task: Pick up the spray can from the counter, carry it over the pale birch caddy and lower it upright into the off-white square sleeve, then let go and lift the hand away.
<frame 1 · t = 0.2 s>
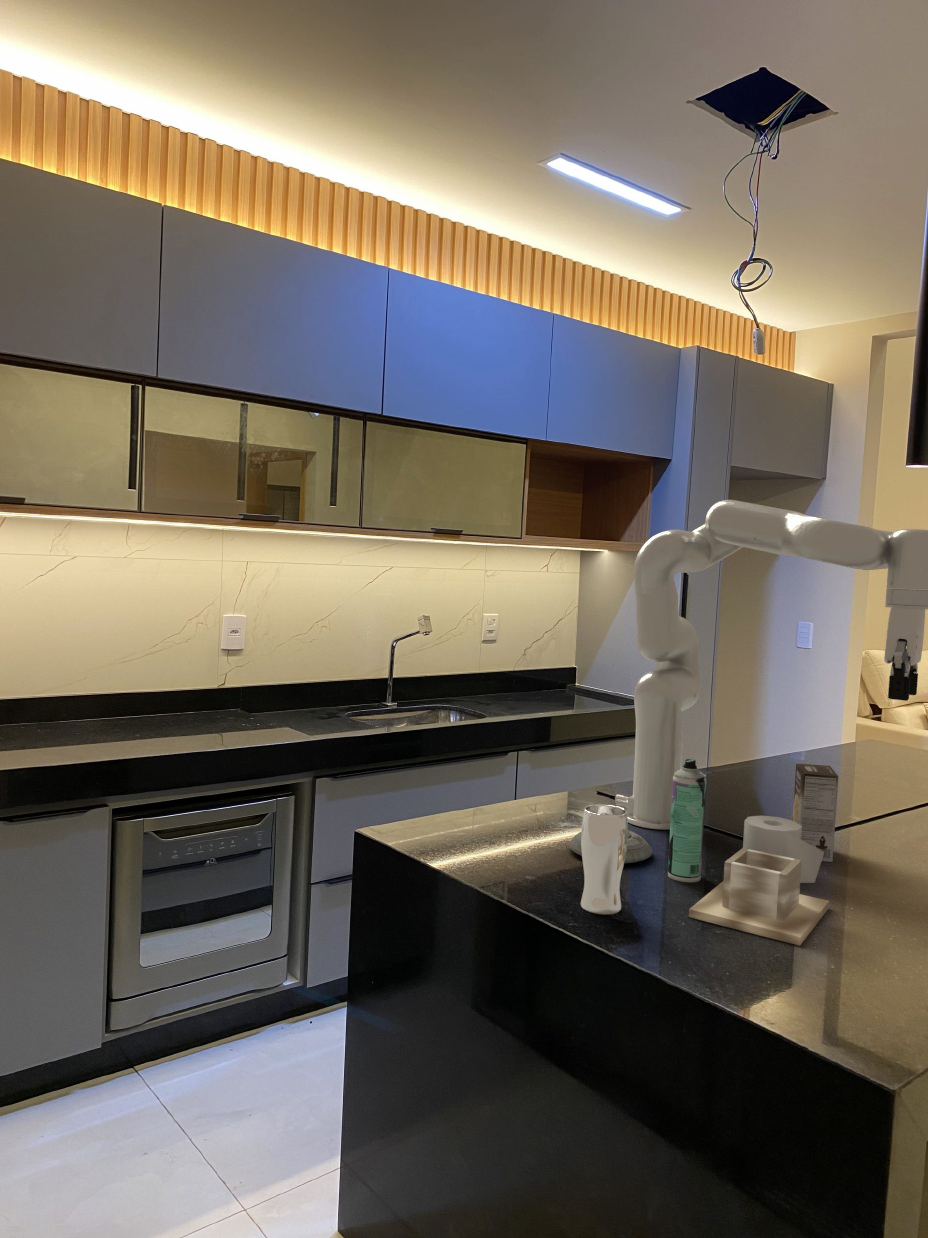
hand: (902, 697, 158), 31 cm above the countertop, tool pointing down, fingers open, 9 cm apart
coffee box: (811, 854, 168), on the countertop
beer glass: (600, 908, 136), on the countertop
toilet tissue: (777, 874, 156), on the countertop
spray can: (684, 878, 152), on the countertop
can caddy: (760, 912, 137), on the countertop
flying saucer: (610, 856, 163), on the countertop
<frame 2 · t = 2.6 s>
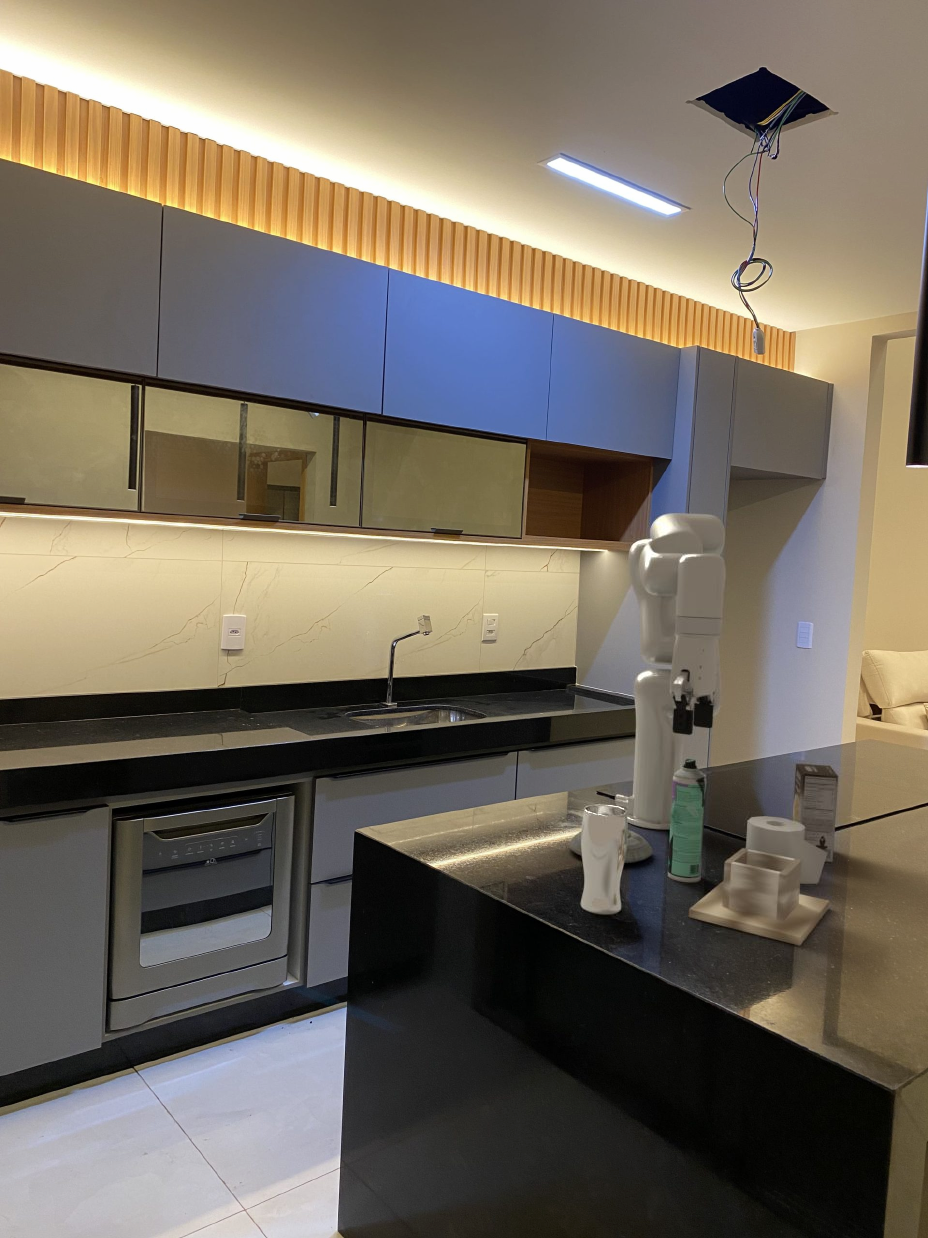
hand: (692, 730, 150), 25 cm above the countertop, tool pointing down, fingers open, 9 cm apart
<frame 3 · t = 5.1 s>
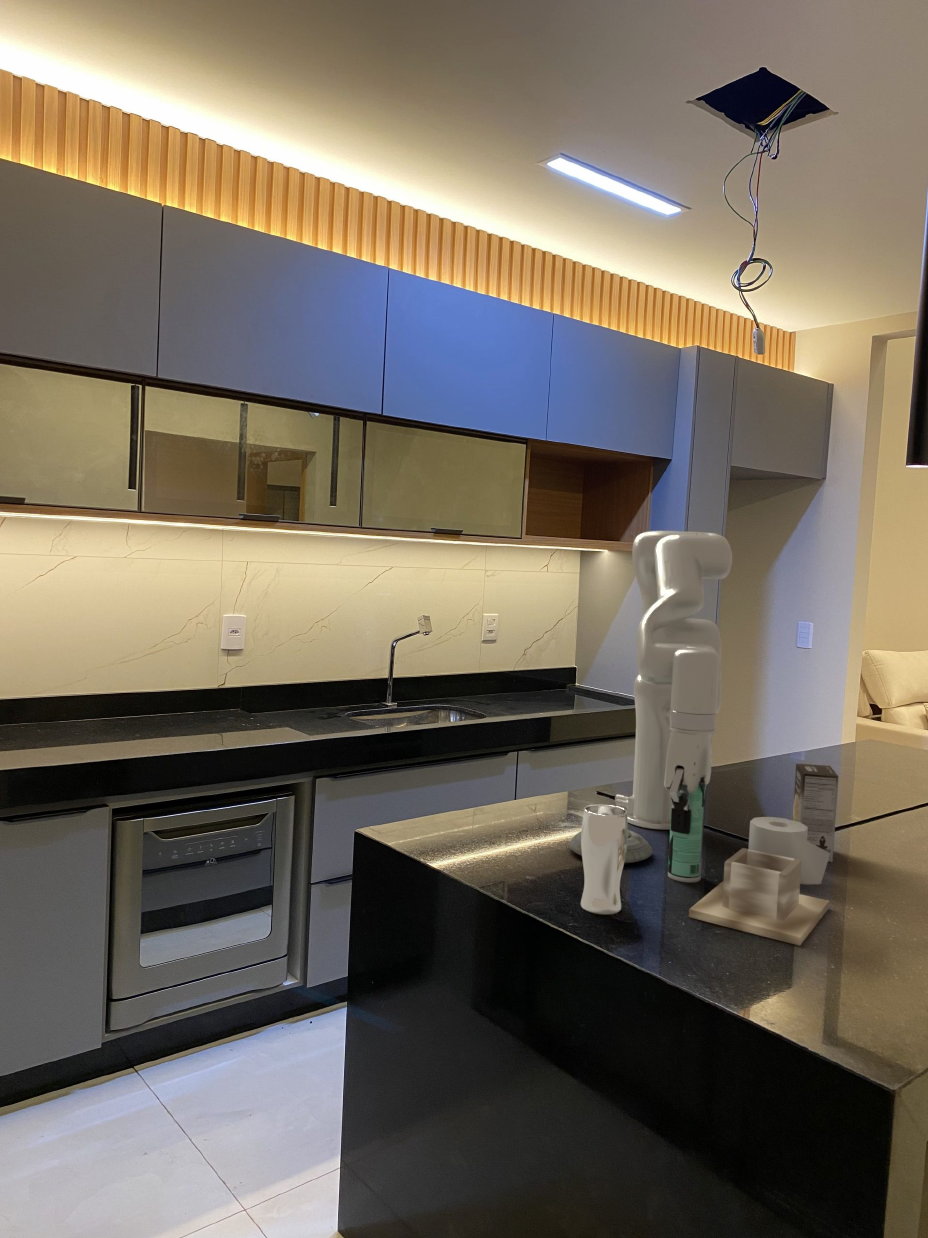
hand: (686, 827, 151), 8 cm above the countertop, tool pointing down, fingers closed on spray can, 5 cm apart
spray can: (684, 878, 152), on the countertop, touching gripper
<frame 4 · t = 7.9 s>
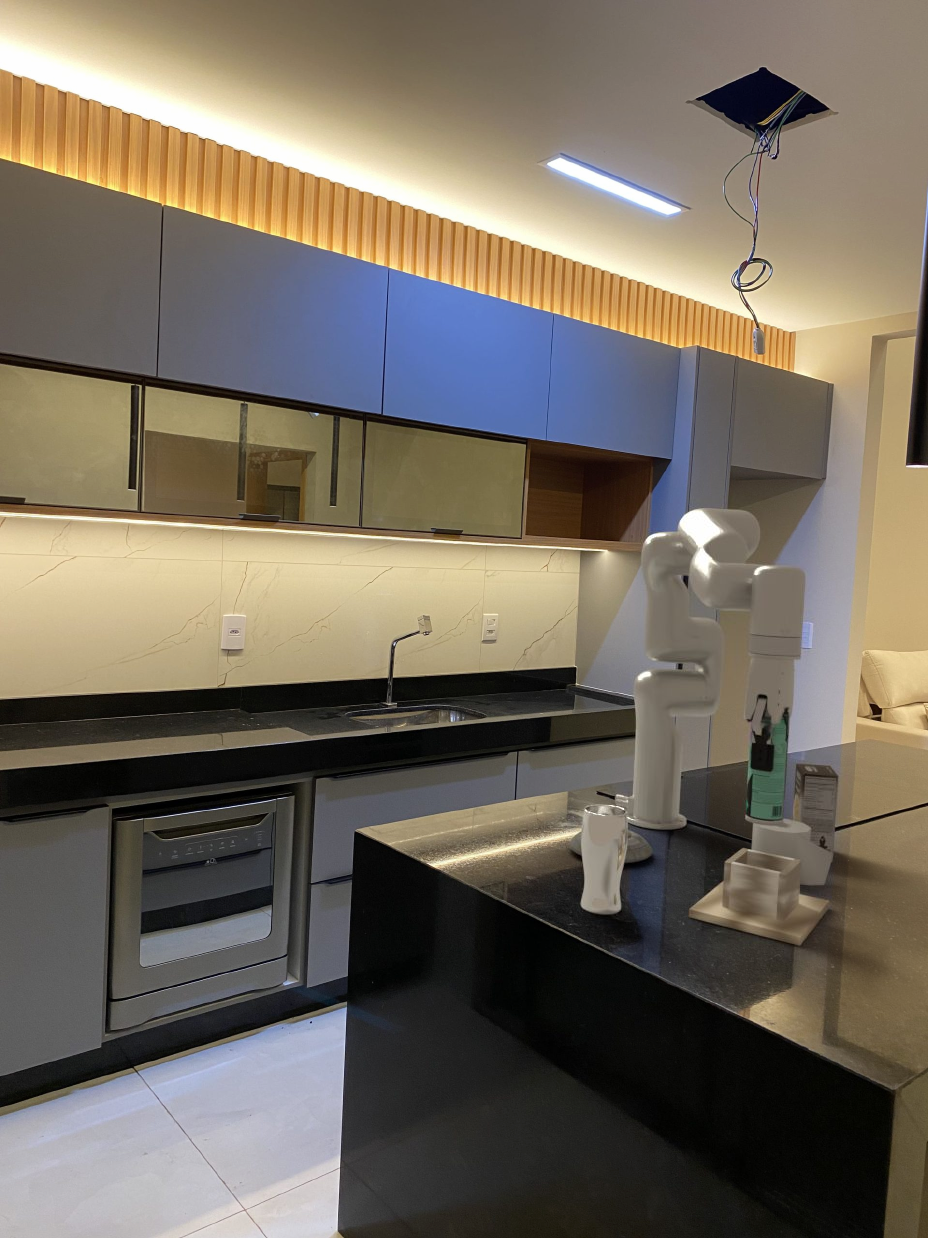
hand: (767, 765, 136), 23 cm above the countertop, tool pointing down, fingers closed on spray can, 5 cm apart
spray can: (764, 822, 136), point 14 cm above the countertop, touching gripper
when the fingers open (11 cm above the countertop, at t = 10.8 s): spray can drops 2 cm, resting on can caddy.
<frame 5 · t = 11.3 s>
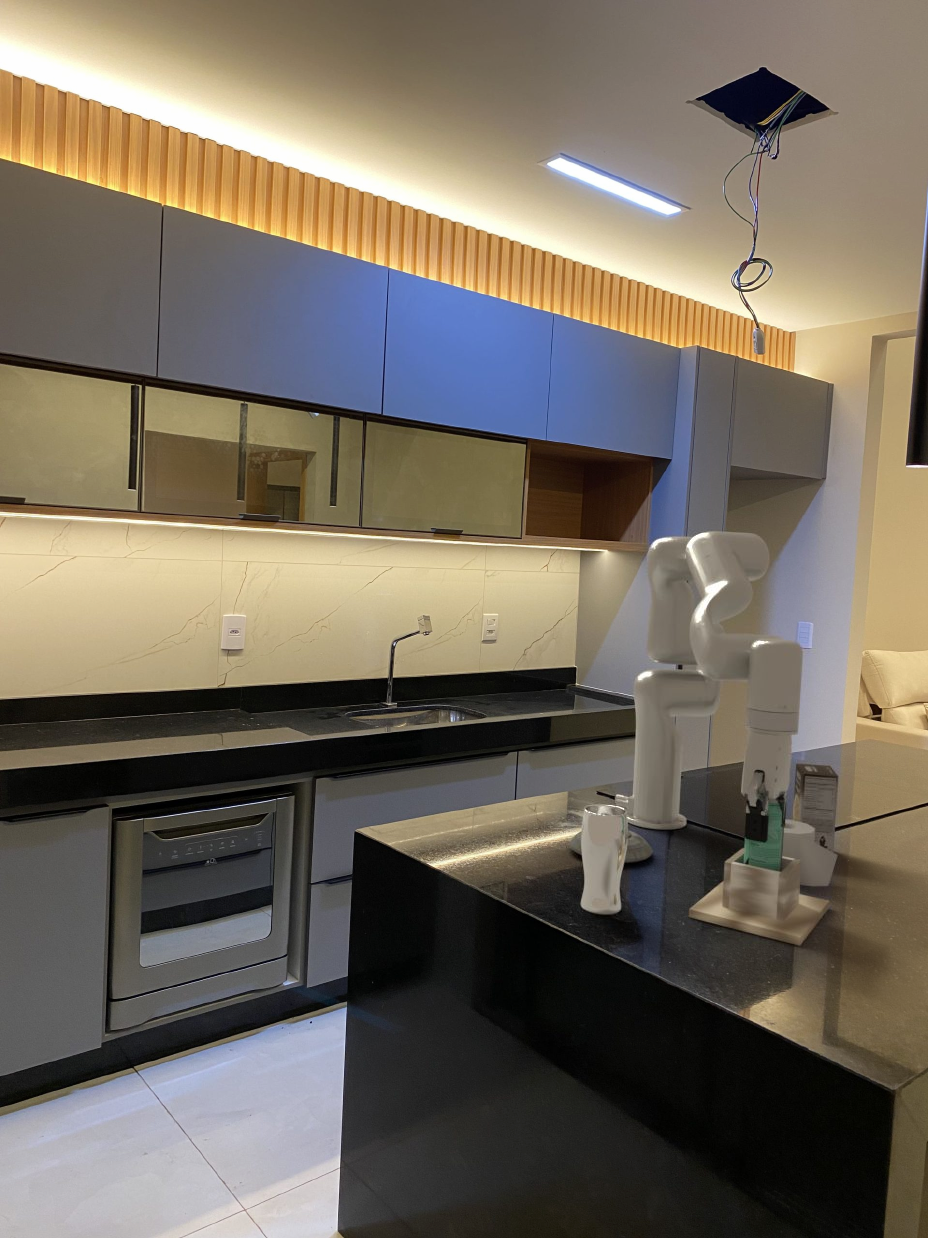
hand: (765, 833, 136), 12 cm above the countertop, tool pointing down, fingers open, 9 cm apart
spray can: (759, 905, 137), point 1 cm above the countertop, touching can caddy
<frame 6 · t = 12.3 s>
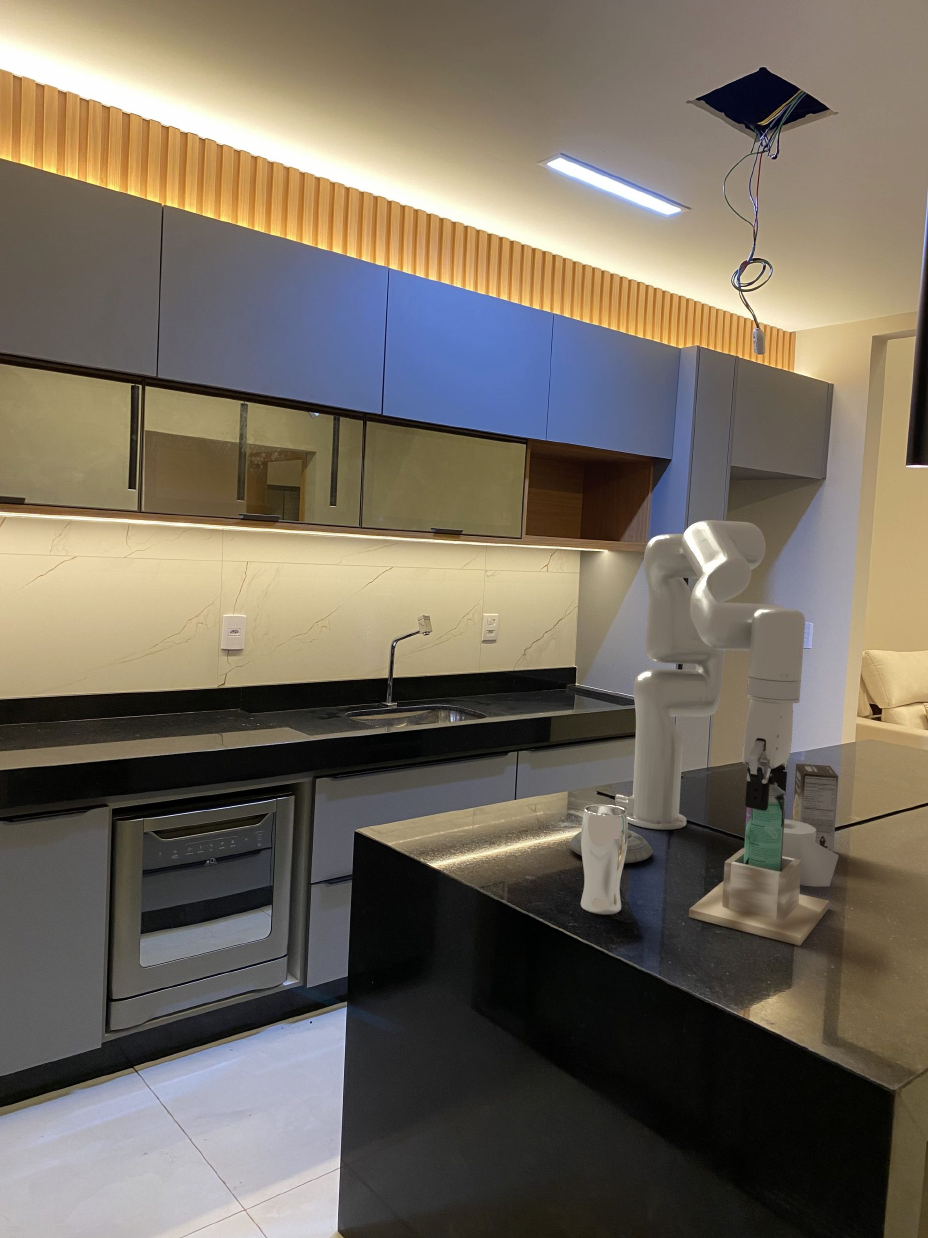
hand: (765, 801, 136), 17 cm above the countertop, tool pointing down, fingers open, 9 cm apart
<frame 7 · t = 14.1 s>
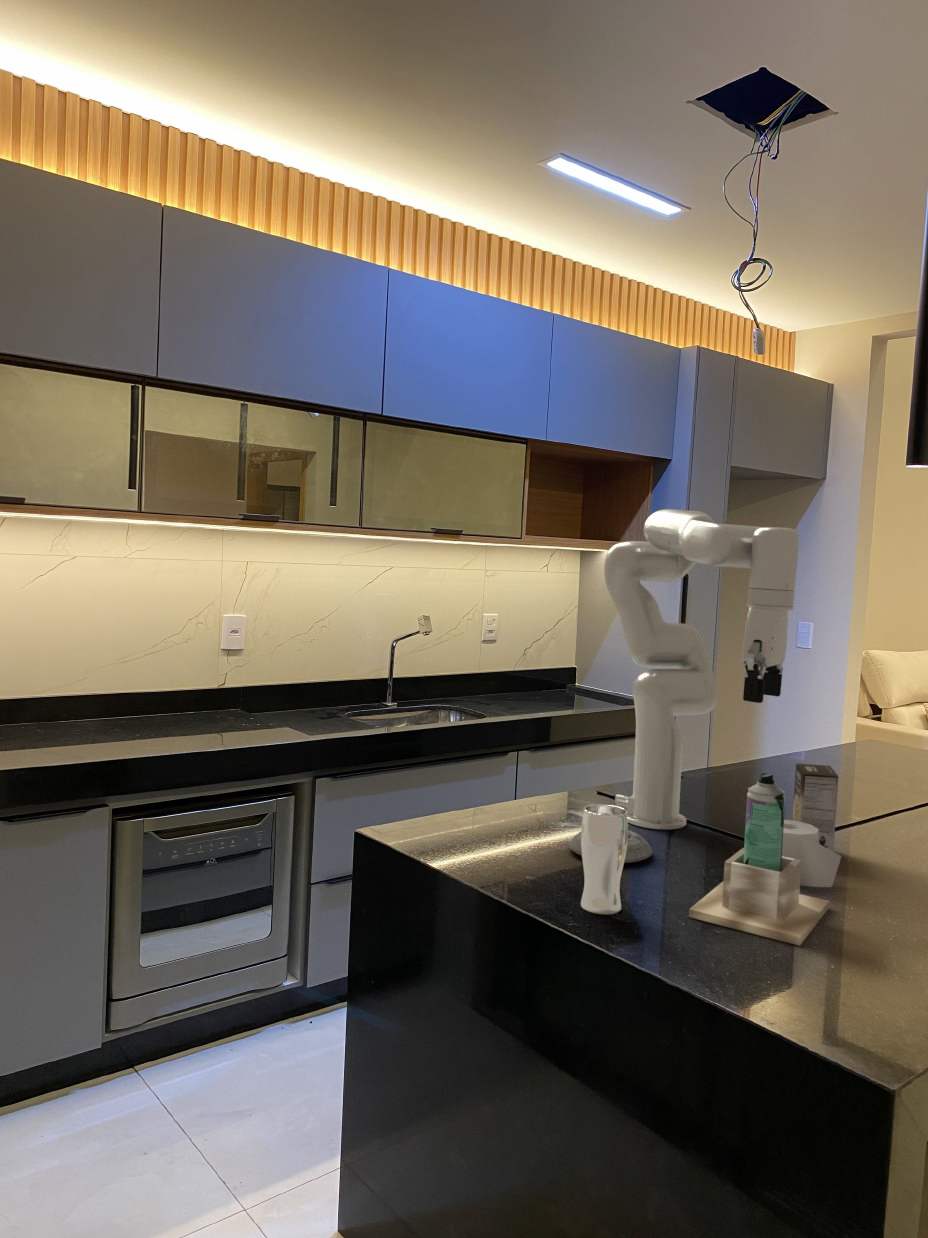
hand: (761, 698, 155), 30 cm above the countertop, tool pointing down, fingers open, 9 cm apart
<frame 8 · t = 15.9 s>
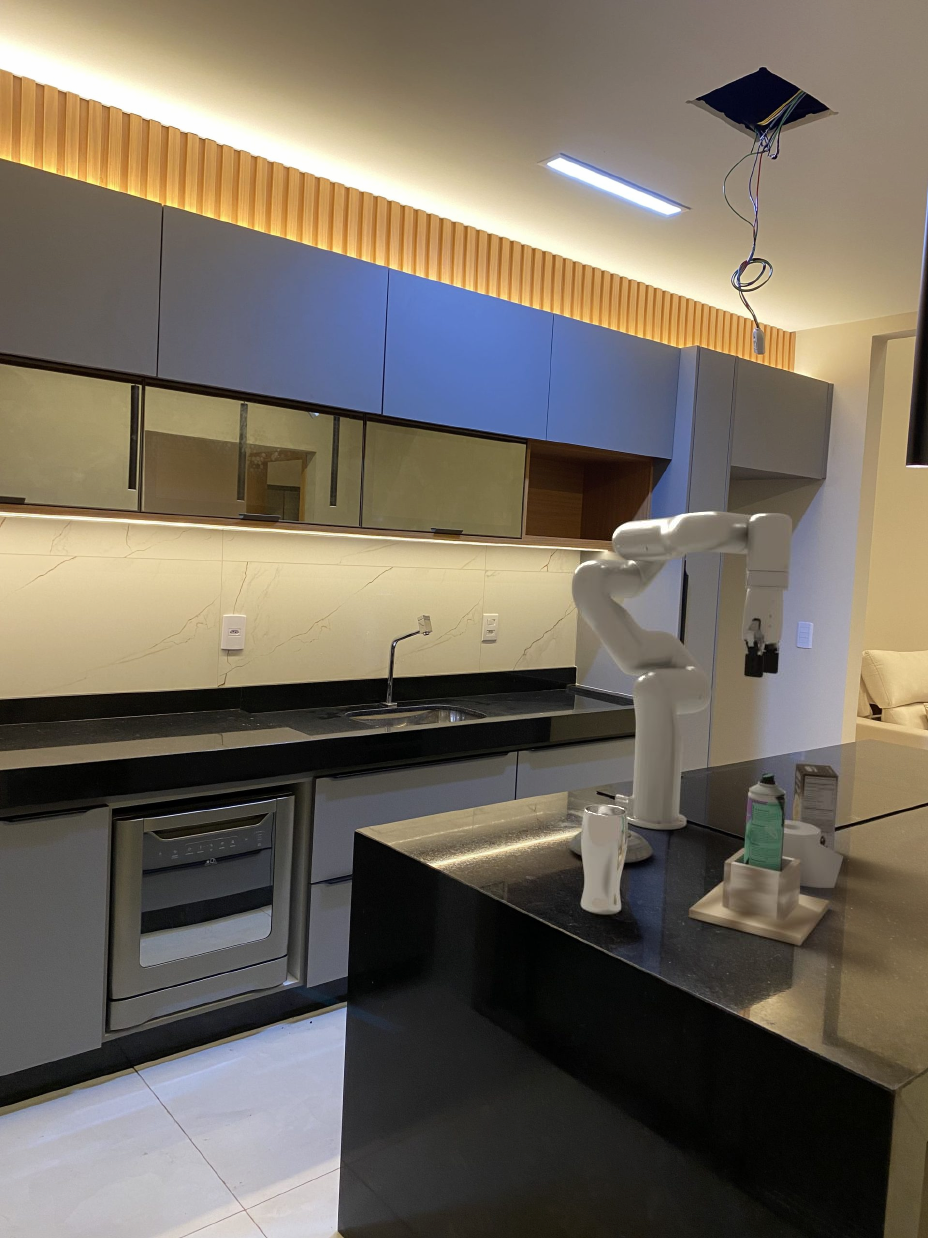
hand: (761, 674, 165), 33 cm above the countertop, tool pointing down, fingers open, 9 cm apart
at the end: spray can 0.4 cm off-centre on the can caddy, point 1.0 cm above the can caddy's base; spray can tilted 0°; the gripper is holding nothing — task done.
